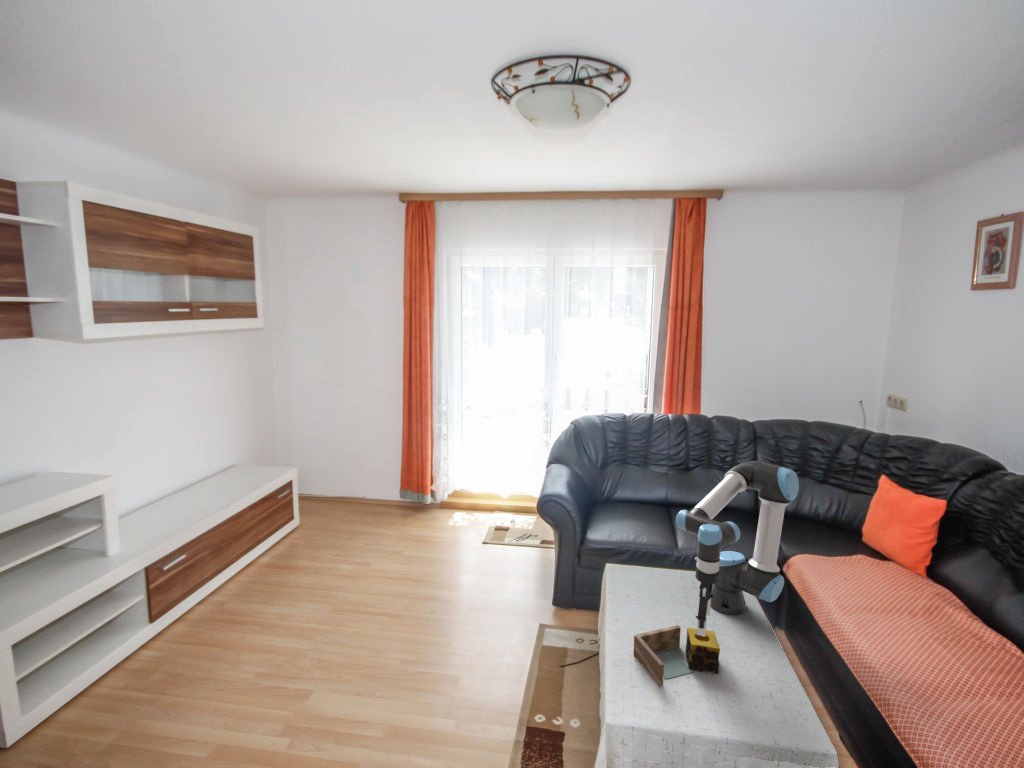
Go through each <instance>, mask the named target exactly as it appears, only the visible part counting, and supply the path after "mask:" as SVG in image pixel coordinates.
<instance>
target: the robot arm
mask: <svg viewBox="0 0 1024 768" xmlns="http://www.w3.org/2000/svg"><path fill="white" fill-rule="evenodd" d="M799 482H800V481H799V478H798V475H797V473H796V472H795V471H794V470H792V469H789V468H787V467H784V466H779V465H774V464H771V463H770V464H769V463H767V462H766V463H765V462H762V461H757V460H750V461H749V460H748V461H746V462H745V461H744V462H741V463H738V464H736V465H735V466H733V467H732V468H730V469H729V470H728V471H726V472H725V474H724V475H723V479H722V480H721V481H720V482H719V483H718V484H717V485H715V487H714V488H712V489H711V491H709V493H707V494H706V495H705V496H704V497H703V498H702V499H701V500H700V501H699V502H698V503H697V504H696V505H695V506H694V507H693V508H691V509H690V510H687V509H680V511H679V512H678V513H677V514H676V517H675V523H676V524H675V525H676V526H677V528H678V529H680V530H683V531H684V532H686V533H689V534H692V535H694V536H697V548H696V549H697V551H696V552H697V553H696V557H694V560H695V561H696V564H695V565H696V566H695V567H696V568H695V579H696V580H697V581H699V582H700V584H699V595H698V596H699V600H698V601H699V603H698V612H697V615H695V619H697V624H696V625H697V627H696V629H697V635H700V636H703V637H705V633H706V630H707V616H710V615H711V608H712V609H713V610H715V611H717V612H719V613H722V614H725V615H732V616H735V615H741V614H743V613H744V612H745V611H746V605H747V603H746V598H745V595H744V592H745V593H747V594H748V595H751V596H753V597H755V598H757V599H759V600H762V601H765V602H768V603H773V602H775V601H776V600H777V599H778V597H779V596H780V595H781V593H782V591H783V588H784V586H785V578H784V577H783V576H782V575H781V574H780V571H781V568H780V567H779V565H778V564H777V561H778V556H779V549H780V541H781V537H782V536H781V535H782V530H783V523H784V516H785V510H786V507H787V506H788V505H790V504H791V501H794V500H796V498H797V497H798V494H799V490H800V489H799V488H800V484H799ZM747 489H751V490H754V491H758V494H757V497H758V499H759V500H760V501H761V503H760V509H759V516H758V523H757V528H756V529H757V530H756V535H755V542H754V549H753V554H752V558H750V559H748V561H746V557H745V555H744V554H743V553H742V552H739V551H738V552H737V551H735V550H734V551H733V550H724V549H725V548H727V547H730V546H732V545H734V544H735V543H736V542H738V541H739V540H740V538H741V530H740V527H739V526H738V525H737V524H736V523H734V522H733V521H723V522H719V521H717V520H714V518H715V517H717V515H718V514H719V513H720V512H721V511H722V510H723V509H724V508H725V507H726V506H727V505H728V504H729V503H730V502H731V501H732V500H733V499H734V498H735V497H736V496H737V495H738V494H739V493H743V492H744V491H746V490H747ZM722 550H724V551H722Z"/></svg>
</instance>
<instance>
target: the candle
mask: <svg viewBox="0 0 1024 768" xmlns="http://www.w3.org/2000/svg"><path fill="white" fill-rule="evenodd" d="M720 652H721V647H720V644H719V642H718V639H717V636H716V632H715V631H713V630H707V629H706V633H705V637H703V636H700V635H697V628H692V627H687V629H686V643H685V657H686V662H687V666H688V668H689V669H690V670H691V671H697V672H702V673H711V674H716V675H718V674H719V672H720V671H719V669H720V660H719V658H720Z"/></svg>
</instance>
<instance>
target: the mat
mask: <svg viewBox="0 0 1024 768" xmlns="http://www.w3.org/2000/svg"><path fill="white" fill-rule="evenodd" d="M656 656H657V657H658V658H659V659H660V660H661V661H662V663H663V664H664V675H663V679H665V680H670V679H673V678H677V677H681V676H684V675H688V674H689V675H690V674H693V673H694V672H693V670H690V669H689V668H688V667H689V666H688V664H686V663H685V662H684V661H683V660H682V659H681V658H680V656H679V655H678V654H677V653H676V652H675V651H670V652H667V653H663V654H657V655H656Z"/></svg>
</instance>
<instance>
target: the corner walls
mask: <svg viewBox="0 0 1024 768" xmlns="http://www.w3.org/2000/svg"><path fill="white" fill-rule="evenodd" d="M681 630H682V629H681V626H680V625H673V626H667V627H663V628H660V629H655V630H652V631H647V632H642V633H637V634H634V636H633V652H632V653H633V656H634V657H635V659H636V660H637V661H638V663H640V665H641V666H642V667H643V668H644V670H645V671H646V672H647V673H648V675H649V676H650V677H651V678H652V680H653V681H654V682H655V683H656V684H657V686H658V687H663V686H664V677H663V675H664V664H663V663H662V661H661V660H660V659H659V658H658V657H657V656H658V655H656V654H655V653H659V652H663V651H667V650H668V651H669V650H672V649H675V648H679V647H680V646H681V632H682V631H681Z"/></svg>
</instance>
